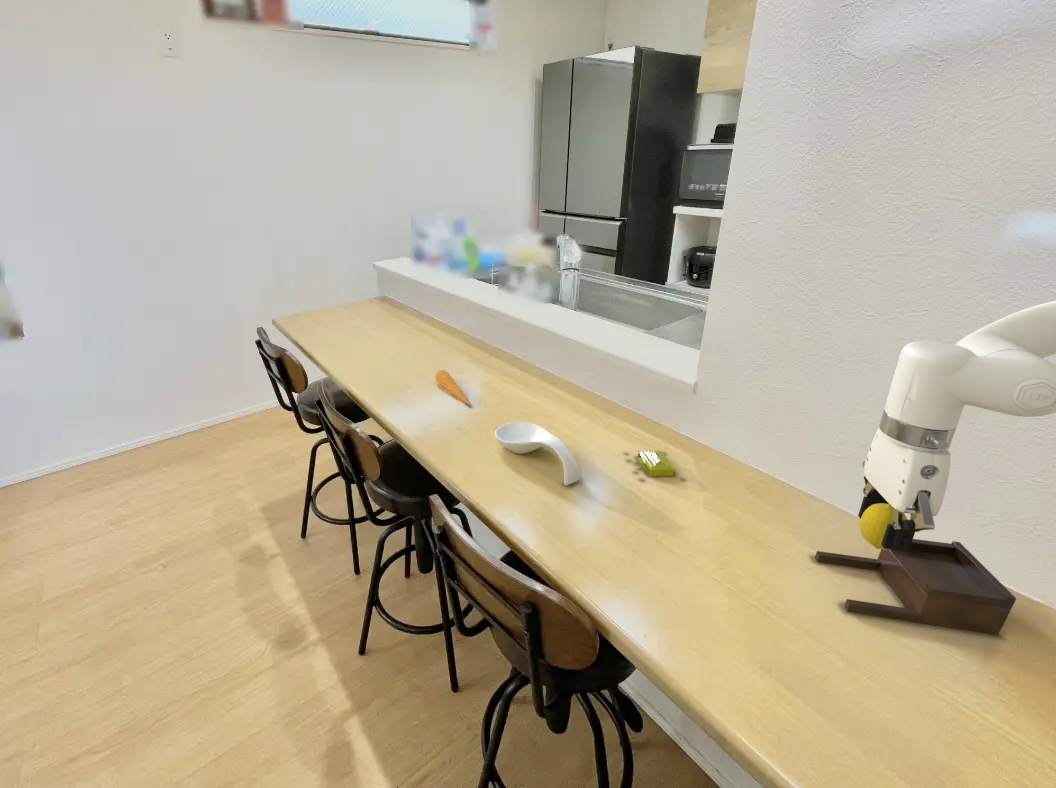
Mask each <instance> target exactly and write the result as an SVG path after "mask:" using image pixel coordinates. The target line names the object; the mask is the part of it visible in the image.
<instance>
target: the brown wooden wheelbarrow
mask: <svg viewBox="0 0 1056 788" xmlns="http://www.w3.org/2000/svg"><path fill="white" fill-rule="evenodd" d="M814 559H815V561H816V562H817V563H823V564H829V565H838V566H842V567H843V566H844V567H851V568H859V569H866V570H873V571H878V573H880V575H881V577H882V578H883V579H884V580H885V582H886V583H887V584H888V586H889V587H890V588H891V590H892V592H894V594H895V595H896V596H897V598H898V599H899V601H900V602H901V603H902V605H903V606H904V607H902V606H901V607H900V606H895V605H890V604H889V605H888V604H881V603H876V602H870V601H863V600H856V599H849V598H846V600H845V602H844V605H843V606H844V608H845V610H846V612H848V613H855V614H859V615H860V614H861V615H866V616H873V617H879V618H885V619H890V620H891V619H892V620H897V621H906V622H910V623H916V624H917V623H918V624H923V625H929V626H936V627H941V628H944V627H945V628H949V629H955V630H961V631H962V630H963V631H966V632H967V631H969V632H975V633H979V634H987V635H992V636H993V635H995V636H999V635H1000V633H1001V631H1002V630H1003V626H1004V625H1005V622H1006V621H1007V619H1008V617H1009V615H1010V613H1011V611H1012V609H1013V607H1014V605H1015V602H1016V600H1017V597H1016V596H1015V595H1014V594H1013V593H1012V592H1010V590H1009V589H1007V587H1006V586H1004V584H1002V583H1001V582H1000V580H999V579H998V578H997V577H995V576H994V575H993V573H992V572H991V571H990V570H988V569H987V568H986V567H985V565H983V563H982V562H981V561H979V560H978V558H976V557H975V556H974V555H973V554H972V553H971V552H970V551H969V550H968V548H966V546H964V545H963V544H962V543H961V542H960V541H955V540H952V541H951V543H950V542H949V543H948V542H943V541H942V542H940V541H933V540H926V539H917V538H913V540H912V543H911V546H910V549H909V550H908V551H899V550H885V549H880V551H879V554H878V557H877V558H870V557H863V556H858V555H857V556H856V555H849V554H842V553H841V554H840V553H836V552H828V551H820V550H816V552H815V556H814Z"/></svg>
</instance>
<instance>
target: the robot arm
mask: <svg viewBox="0 0 1056 788" xmlns="http://www.w3.org/2000/svg"><path fill="white" fill-rule="evenodd" d="M1053 355H1056V300H1053V301H1052V300H1051V301H1048V302H1044V303H1041V304H1037V305H1033V306H1030V307H1027V308H1024V309H1021V310H1019V311H1016V312H1013V313H1010V314H1009V315H1006V316H1004V317H1002V318H1000V319H998V320H996V321H993V322H991V323H989V324H987V325H984V326H982V327H981V328H978V329H977V330H975V331H973V332H971V333H969V334H967V335H966V336H964V337H963V338H961V339H960V340H959V341H956V343H949V342H945V341H939V340H914V341H911V342H908V343H907V344H905V345H904V346H903V347H902V348H901V351H900V353H899V357H898V360H897V363H896V367H895V370H894V374H893V377H892V381H891V384H890V387H889V390H888V394H887V398H886V401H885V405H884V408H883V411H882V415H881V418H880V422H879V424H878V425H879V426H878V429H877V430H876V433H875V435H874V437H873V439H872V442H871V444H870V447H869V449H868V452H867V455H866V458H865V460H864V461H862V468H863V474H864V476H863V481H864V484H865V486H864V487H863V489H862V493H863V495H864V496H863V498H862V501H861V505H860V508H859V511H858V514H857V517H858V518H859V520H861V517H862V514H863V513H864V511H865V510H866V509H867V508H868V507H869V506H871V505H873V504H877V503H886V504H890V505H891V506H892V507H893V515H892V524H888V525H887V528H886V531H885V534H884V538H883V541H882V544H881V545H882V546H883V548H885V549H890V550H899V551H908V550H909V549H910V546H911V543H912V540H913V539H914V537H915V534H916V533H919V532H920V531H929V530H935V528H936V524H935V521H934V517H937V515H939V513H940V510H941V508H942V505H943V502H944V497H945V494H946V491H947V486H948V481H949V476H950V470H951V469H950V468H951V452H950V451H949V449H950V448H951V444H952V441H953V438H954V435H955V433H956V430H957V427H958V425H959V422H960V419H961V416H962V413H963V410H964V408H965V406H970V407H971V406H972V407H975V408H980V409H984V410H987V411H992V412H996V413H1001V414H1003V415H1010V416H1016V417H1024V418H1025V417H1027V418H1032V417H1043V416H1049V415H1052V414H1055V413H1056V364H1054V363H1052V362H1050V361H1049V360H1047V359H1044V358H1047V357H1050V356H1053ZM902 513H904V514H910V517H909V518H910V519H908V520H902Z"/></svg>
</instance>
